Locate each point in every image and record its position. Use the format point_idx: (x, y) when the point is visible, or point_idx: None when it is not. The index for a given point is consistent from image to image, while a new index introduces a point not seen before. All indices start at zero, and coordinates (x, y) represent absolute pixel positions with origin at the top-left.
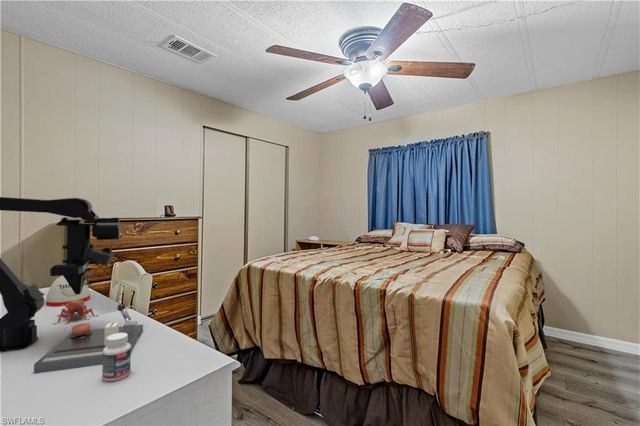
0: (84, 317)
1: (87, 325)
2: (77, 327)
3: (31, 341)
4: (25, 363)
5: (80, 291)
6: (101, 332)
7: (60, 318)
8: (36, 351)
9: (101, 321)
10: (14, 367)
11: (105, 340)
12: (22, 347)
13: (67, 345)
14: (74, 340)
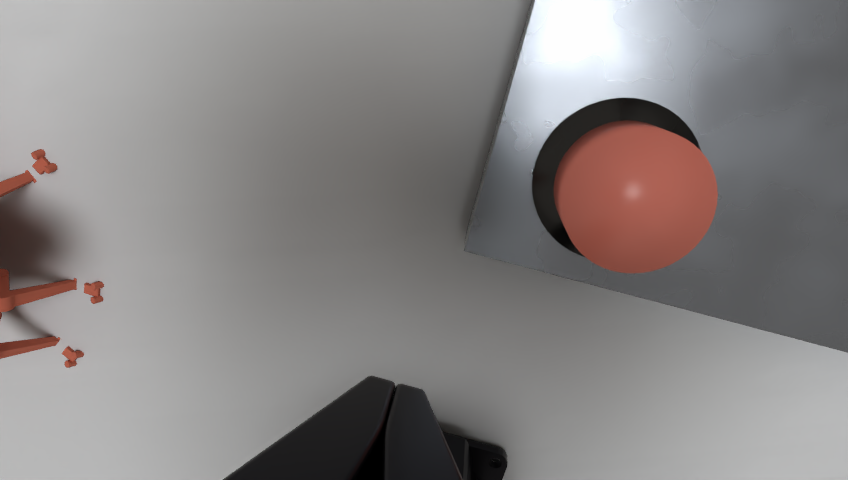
0: (13, 190)
1: (671, 150)
2: (674, 231)
3: (465, 446)
4: (776, 423)
5: (419, 408)
6: (656, 23)
7: (23, 342)
8: (596, 396)
9: (131, 55)
10: (799, 460)
11: None
12: (505, 467)
13: (811, 256)
14: (723, 220)
